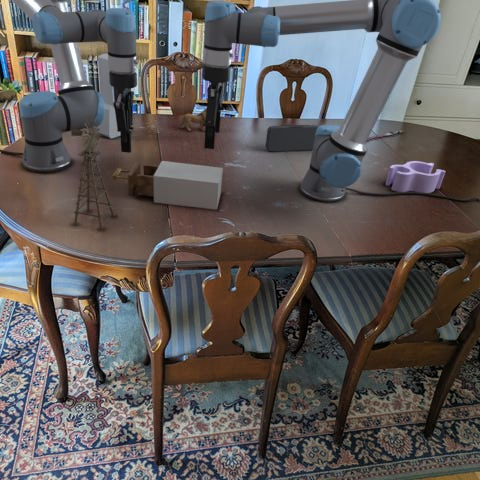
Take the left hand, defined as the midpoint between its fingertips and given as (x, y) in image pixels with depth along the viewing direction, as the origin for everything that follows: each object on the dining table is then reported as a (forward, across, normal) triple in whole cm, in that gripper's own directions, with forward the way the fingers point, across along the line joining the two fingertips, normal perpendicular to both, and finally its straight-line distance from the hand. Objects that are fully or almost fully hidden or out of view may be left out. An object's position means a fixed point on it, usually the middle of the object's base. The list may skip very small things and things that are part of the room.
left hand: (126, 151), depth 141 cm
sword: (+14, +79, -96) cm, 125 cm away
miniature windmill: (+14, -20, +4) cm, 24 cm away
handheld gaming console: (+14, +51, -54) cm, 75 cm away
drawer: (+13, 0, -8) cm, 15 cm away
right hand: (-7, 0, -26) cm, 27 cm away
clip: (+14, +29, -98) cm, 103 cm away
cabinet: (+14, 0, -19) cm, 24 cm away
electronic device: (+14, +47, +19) cm, 52 cm away
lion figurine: (+14, +62, -12) cm, 65 cm away
